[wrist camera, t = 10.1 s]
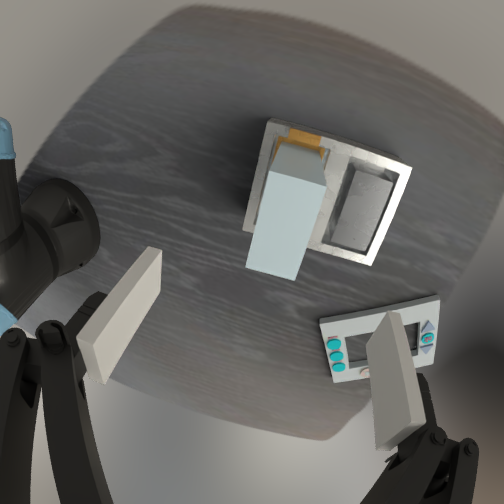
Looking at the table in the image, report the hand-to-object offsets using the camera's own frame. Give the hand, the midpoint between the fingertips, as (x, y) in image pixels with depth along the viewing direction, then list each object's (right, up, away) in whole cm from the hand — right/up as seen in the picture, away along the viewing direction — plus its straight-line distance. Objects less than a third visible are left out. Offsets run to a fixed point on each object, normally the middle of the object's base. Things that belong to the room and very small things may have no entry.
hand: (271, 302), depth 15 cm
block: (+3, +10, +17) cm, 20 cm away
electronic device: (+20, -11, +30) cm, 38 cm away
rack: (+7, +10, +19) cm, 23 cm away
